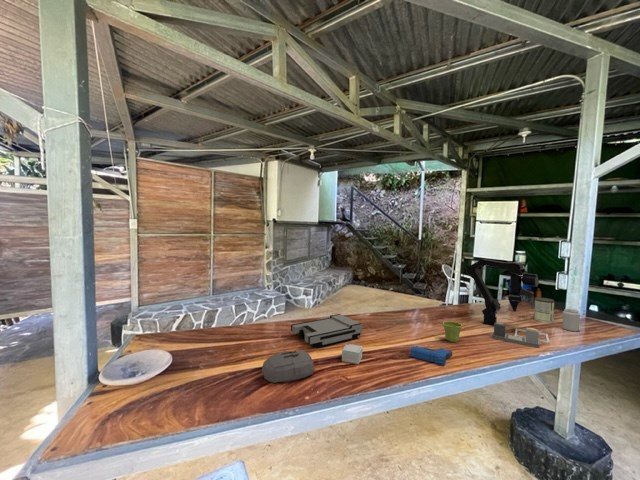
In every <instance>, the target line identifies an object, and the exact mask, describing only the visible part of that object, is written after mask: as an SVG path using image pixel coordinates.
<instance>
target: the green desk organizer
mask: <svg viewBox="0 0 640 480" xmlns="http://www.w3.org/2000/svg"><path fill="white" fill-rule="evenodd" d="M555 302H556V301H555V300H554V299H552V298H549V297H534V311H533V313H534V318H533V319H534V320H536V321H539V322H542V323H554V322H555V320H554V318H555V317H554V316H555Z"/></svg>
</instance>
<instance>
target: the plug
mask: <svg viewBox="0 0 640 480" xmlns="http://www.w3.org/2000/svg"><path fill="white" fill-rule="evenodd" d="M525 330H526V332H525V337H526V342H531V343H536V344H538V340H539V335H538V334H539V333H540V331H539V329H538V328H537V329H536V328H534V327H533V328H532V327H526V328H525Z"/></svg>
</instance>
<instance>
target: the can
mask: <svg viewBox="0 0 640 480" xmlns="http://www.w3.org/2000/svg"><path fill="white" fill-rule="evenodd" d="M580 316H581V315H580V313H579V310H575V309H571V308H564V310H563V311H562V323H561V326H562V328H563V330H565V331H569V332H576V333H577V332H579V331H580Z"/></svg>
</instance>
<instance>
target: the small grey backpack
mask: <svg viewBox="0 0 640 480" xmlns="http://www.w3.org/2000/svg"><path fill="white" fill-rule="evenodd" d="M261 368H262V369H261V372H262V373H263V377H264V379H265V380H266V381H267V382H270V383H273V384H274V383H276V384H277V383H287V382H293V381H298V380H301V379H305V378H307V377H309V376H312V375H313V373H314V370H315V365H314V361H313V359H312V356H311V355H310V353H308V352H307V351H305V350H293V351H292V350H291V351H285V350H284V351H282V352H277V353H275V354H273V355H270V356H268V357H267V358H266V360H264V361H263V364H262V366H261Z"/></svg>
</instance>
